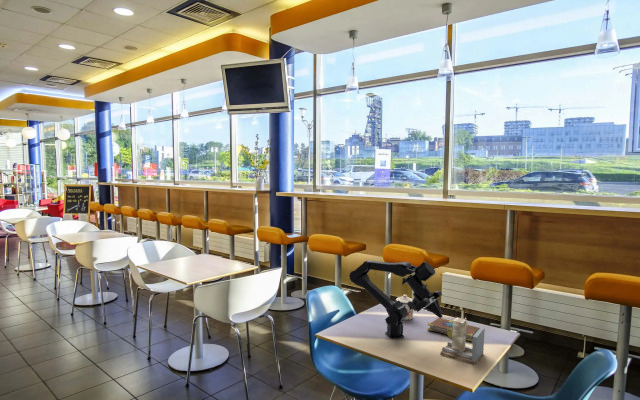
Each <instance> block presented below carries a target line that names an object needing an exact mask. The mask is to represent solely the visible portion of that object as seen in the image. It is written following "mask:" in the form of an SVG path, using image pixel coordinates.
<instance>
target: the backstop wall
mask: <svg viewBox="0 0 640 400" xmlns="http://www.w3.org/2000/svg"><path fill="white" fill-rule="evenodd" d="M479 328H480V329H479V330H478V331H477V332H476V333H475V335H474V336H473V339H472V345H471V348H472V361H473V362H476V361H477V360H478V358H479V357H480V356H481V354H482V353H483V354H484V352H485V351H484V348H485V347H484V345H485V328H484V327H479ZM481 357H482V356H481Z"/></svg>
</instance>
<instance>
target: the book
mask: <svg viewBox="0 0 640 400" xmlns="http://www.w3.org/2000/svg"><path fill="white" fill-rule="evenodd" d="M453 320H454V319H450V320H449V319H446V318H443V317H442V318H439V317H438V318H436V319H434V320H433V321H431V322H427V323H426V324H427V326H428V328H427V330H428V331H433V332H436V333H441V334H445V335H447V337H448V338H449V339H452V332H453ZM480 328H481V327H477V326H474V325H470V324H468V322H466V340H465V341H469V342H473V336H474V335H475V333H476V332H477V331H478V330H479V329H480Z"/></svg>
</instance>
